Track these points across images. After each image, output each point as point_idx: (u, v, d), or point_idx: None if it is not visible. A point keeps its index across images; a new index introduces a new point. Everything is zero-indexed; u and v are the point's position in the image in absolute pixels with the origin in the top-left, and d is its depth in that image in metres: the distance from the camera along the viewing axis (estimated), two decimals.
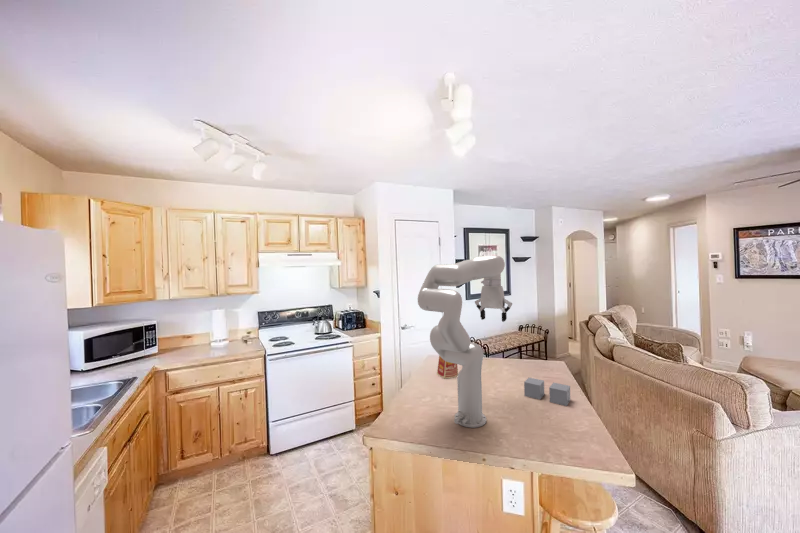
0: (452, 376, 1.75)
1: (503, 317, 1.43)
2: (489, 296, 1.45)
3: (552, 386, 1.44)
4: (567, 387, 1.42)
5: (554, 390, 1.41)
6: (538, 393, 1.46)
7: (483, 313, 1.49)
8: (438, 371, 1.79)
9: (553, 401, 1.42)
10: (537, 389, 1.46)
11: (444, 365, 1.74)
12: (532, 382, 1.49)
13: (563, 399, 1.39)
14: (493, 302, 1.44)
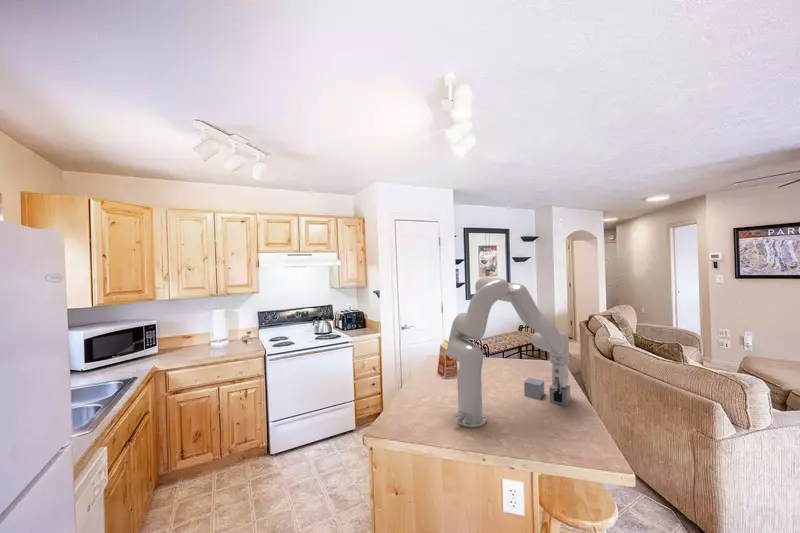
0: (452, 376, 1.75)
1: None
2: (566, 374, 1.41)
3: (552, 386, 1.44)
4: (567, 387, 1.42)
5: None
6: (538, 393, 1.46)
7: None
8: (438, 371, 1.79)
9: (553, 401, 1.42)
10: (537, 389, 1.46)
11: (444, 365, 1.74)
12: (532, 382, 1.49)
13: (563, 399, 1.39)
14: (567, 378, 1.42)
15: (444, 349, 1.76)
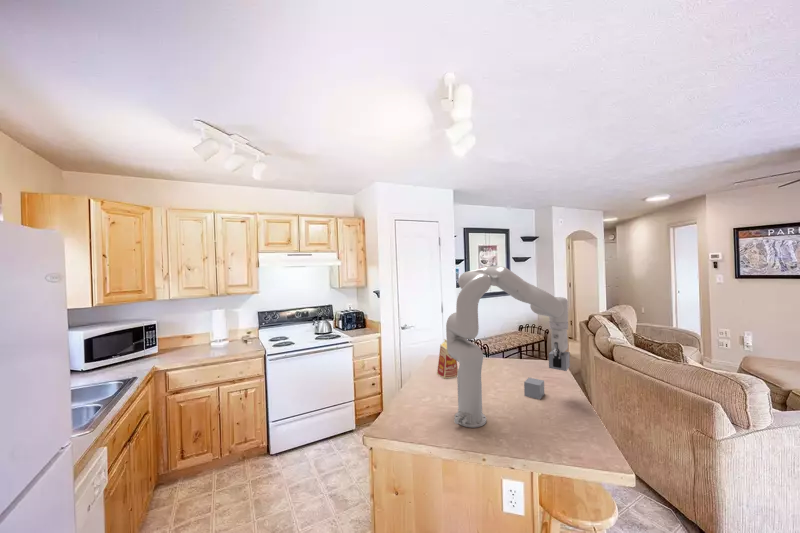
0: (452, 376, 1.75)
1: None
2: (565, 339, 1.40)
3: (551, 352, 1.43)
4: (566, 353, 1.42)
5: None
6: (538, 393, 1.46)
7: None
8: (438, 371, 1.79)
9: (552, 367, 1.41)
10: (537, 389, 1.46)
11: (444, 365, 1.74)
12: (532, 382, 1.49)
13: (562, 364, 1.39)
14: (566, 344, 1.42)
15: (444, 349, 1.76)
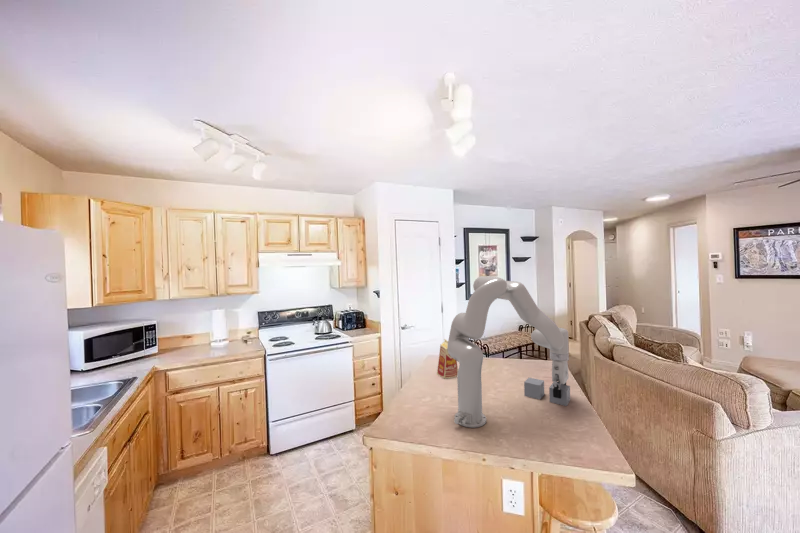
0: (452, 376, 1.75)
1: None
2: (565, 370, 1.41)
3: (552, 386, 1.44)
4: (567, 387, 1.42)
5: None
6: (538, 393, 1.46)
7: None
8: (438, 371, 1.79)
9: (553, 401, 1.42)
10: (537, 389, 1.46)
11: (444, 365, 1.74)
12: (532, 382, 1.49)
13: (563, 399, 1.39)
14: (567, 375, 1.42)
15: (444, 349, 1.76)
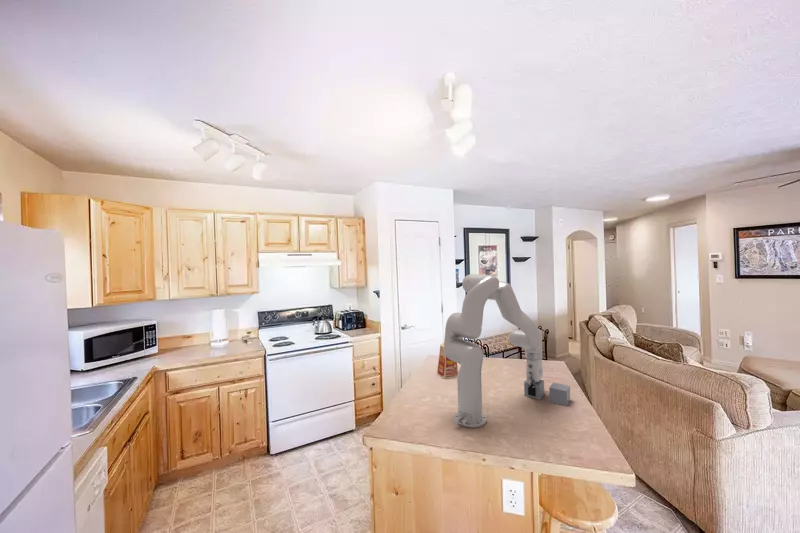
0: (452, 376, 1.75)
1: None
2: (539, 369, 1.48)
3: (552, 386, 1.44)
4: (567, 387, 1.42)
5: (554, 390, 1.41)
6: (538, 393, 1.46)
7: None
8: (438, 371, 1.79)
9: (553, 401, 1.42)
10: (537, 389, 1.46)
11: (444, 365, 1.74)
12: (532, 382, 1.49)
13: (563, 399, 1.39)
14: (541, 373, 1.49)
15: None
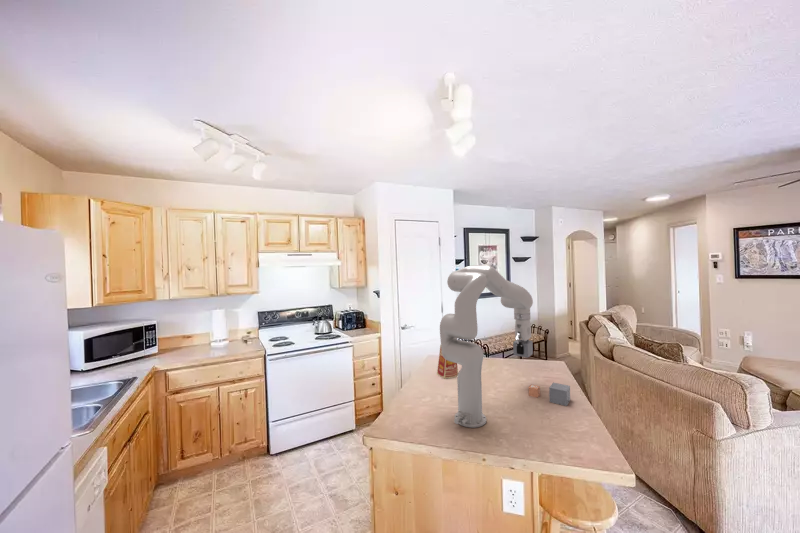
0: (452, 376, 1.75)
1: None
2: (527, 329, 1.56)
3: (552, 386, 1.44)
4: (567, 387, 1.42)
5: (554, 390, 1.41)
6: (526, 351, 1.54)
7: None
8: (438, 371, 1.79)
9: (553, 401, 1.42)
10: (525, 348, 1.54)
11: (444, 365, 1.74)
12: None
13: (563, 399, 1.39)
14: (529, 333, 1.57)
15: None
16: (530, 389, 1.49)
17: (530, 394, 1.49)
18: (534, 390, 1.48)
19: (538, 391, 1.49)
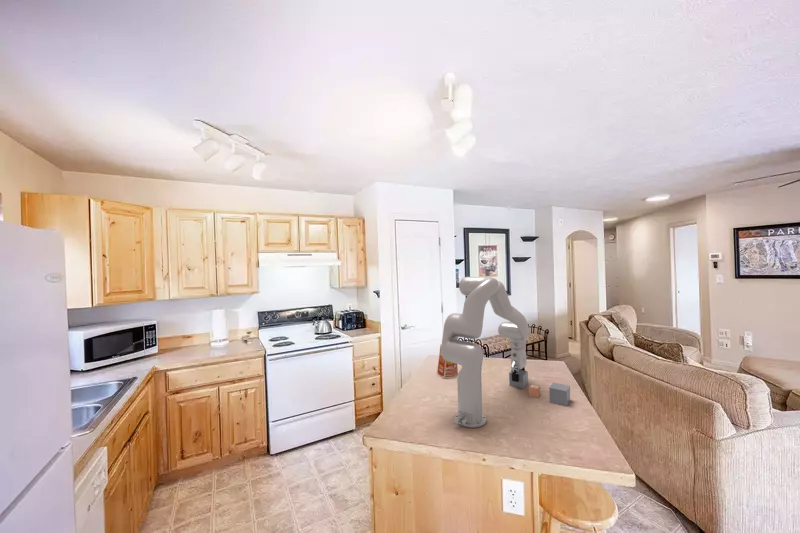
0: (452, 376, 1.75)
1: None
2: (523, 357, 1.60)
3: (552, 386, 1.44)
4: (567, 387, 1.42)
5: (554, 390, 1.41)
6: (522, 382, 1.58)
7: None
8: (438, 371, 1.79)
9: (553, 401, 1.42)
10: (521, 379, 1.58)
11: (444, 365, 1.74)
12: None
13: (563, 399, 1.39)
14: (524, 361, 1.62)
15: None
16: (530, 389, 1.49)
17: (530, 394, 1.49)
18: (534, 390, 1.48)
19: (538, 391, 1.49)
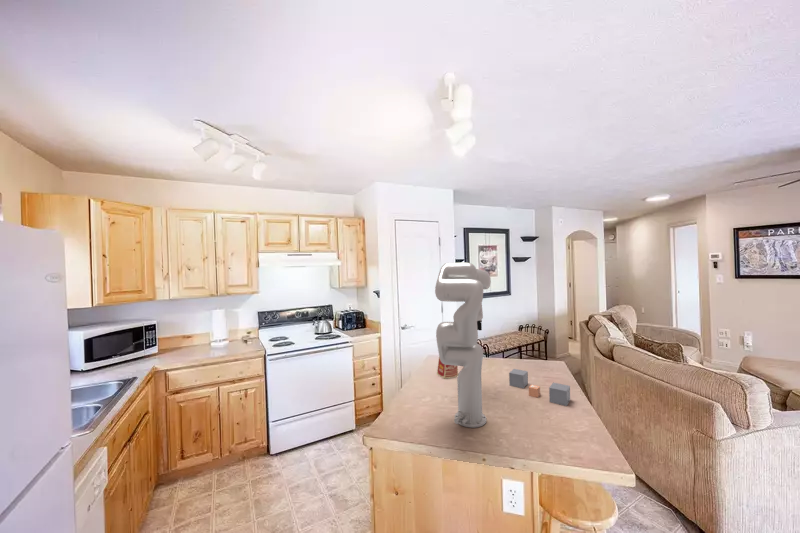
0: (452, 376, 1.75)
1: None
2: None
3: (552, 386, 1.44)
4: (567, 387, 1.42)
5: (554, 390, 1.41)
6: (522, 382, 1.58)
7: None
8: (438, 371, 1.79)
9: (553, 401, 1.42)
10: (521, 379, 1.58)
11: (444, 365, 1.74)
12: (516, 373, 1.61)
13: (563, 399, 1.39)
14: (480, 314, 1.59)
15: None
16: (530, 389, 1.49)
17: (530, 394, 1.49)
18: (534, 390, 1.48)
19: (538, 391, 1.49)
